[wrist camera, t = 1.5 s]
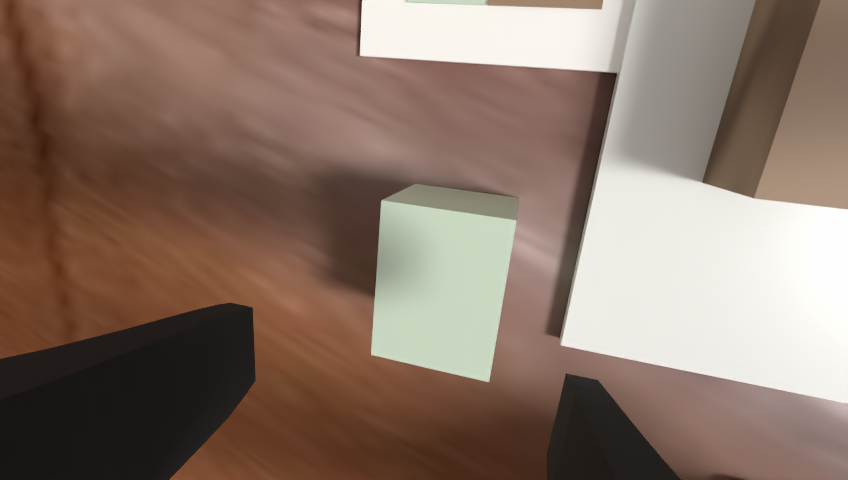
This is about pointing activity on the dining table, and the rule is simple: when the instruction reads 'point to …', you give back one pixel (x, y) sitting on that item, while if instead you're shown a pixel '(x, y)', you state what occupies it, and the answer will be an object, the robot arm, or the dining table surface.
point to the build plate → (701, 227)
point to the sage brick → (442, 277)
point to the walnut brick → (788, 107)
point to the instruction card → (499, 32)
